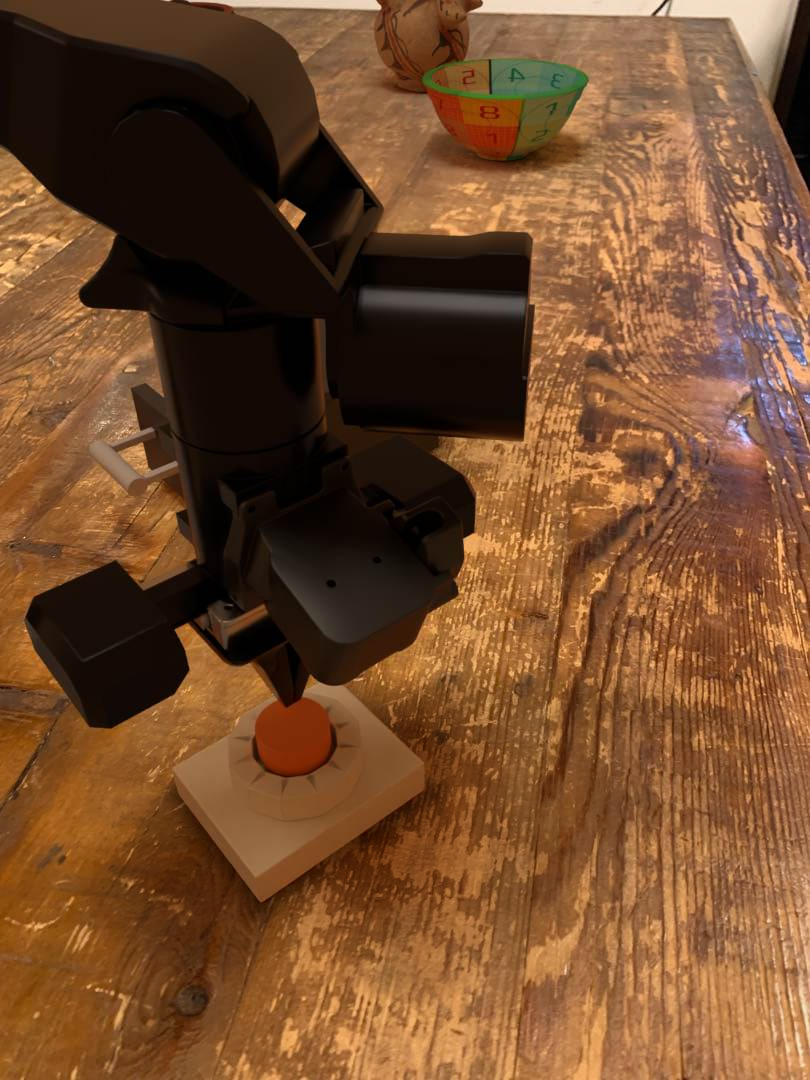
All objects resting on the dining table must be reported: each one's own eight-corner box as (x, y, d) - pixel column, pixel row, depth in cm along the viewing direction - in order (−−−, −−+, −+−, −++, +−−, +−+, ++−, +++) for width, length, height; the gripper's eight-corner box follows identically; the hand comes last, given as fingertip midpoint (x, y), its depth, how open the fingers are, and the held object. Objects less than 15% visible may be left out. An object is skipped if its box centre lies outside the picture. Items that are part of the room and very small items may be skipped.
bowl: (591, 177, 124) (600, 95, 118) (422, 179, 125) (421, 98, 119) (571, 129, 142) (578, 56, 136) (422, 131, 142) (422, 58, 136)
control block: (260, 904, 44) (250, 854, 41) (177, 794, 49) (164, 744, 46) (425, 790, 49) (424, 739, 46) (334, 700, 54) (330, 650, 51)
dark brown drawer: (156, 561, 62) (136, 476, 58) (89, 491, 69) (67, 410, 65) (364, 465, 71) (359, 385, 66) (287, 411, 77) (278, 335, 73)
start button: (284, 789, 45) (281, 766, 44) (244, 743, 47) (240, 720, 46) (346, 750, 46) (344, 727, 45) (304, 708, 49) (301, 684, 48)
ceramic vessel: (464, 102, 155) (468, -80, 140) (352, 97, 158) (343, -80, 143) (481, 76, 169) (486, -92, 154) (377, 73, 172) (372, -92, 157)
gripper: (108, 647, 25) (197, 947, 35) (584, 412, 34) (550, 702, 44) (-36, 469, 32) (72, 761, 42) (394, 312, 41) (400, 582, 51)
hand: (287, 699), depth 44 cm, fingers closed
